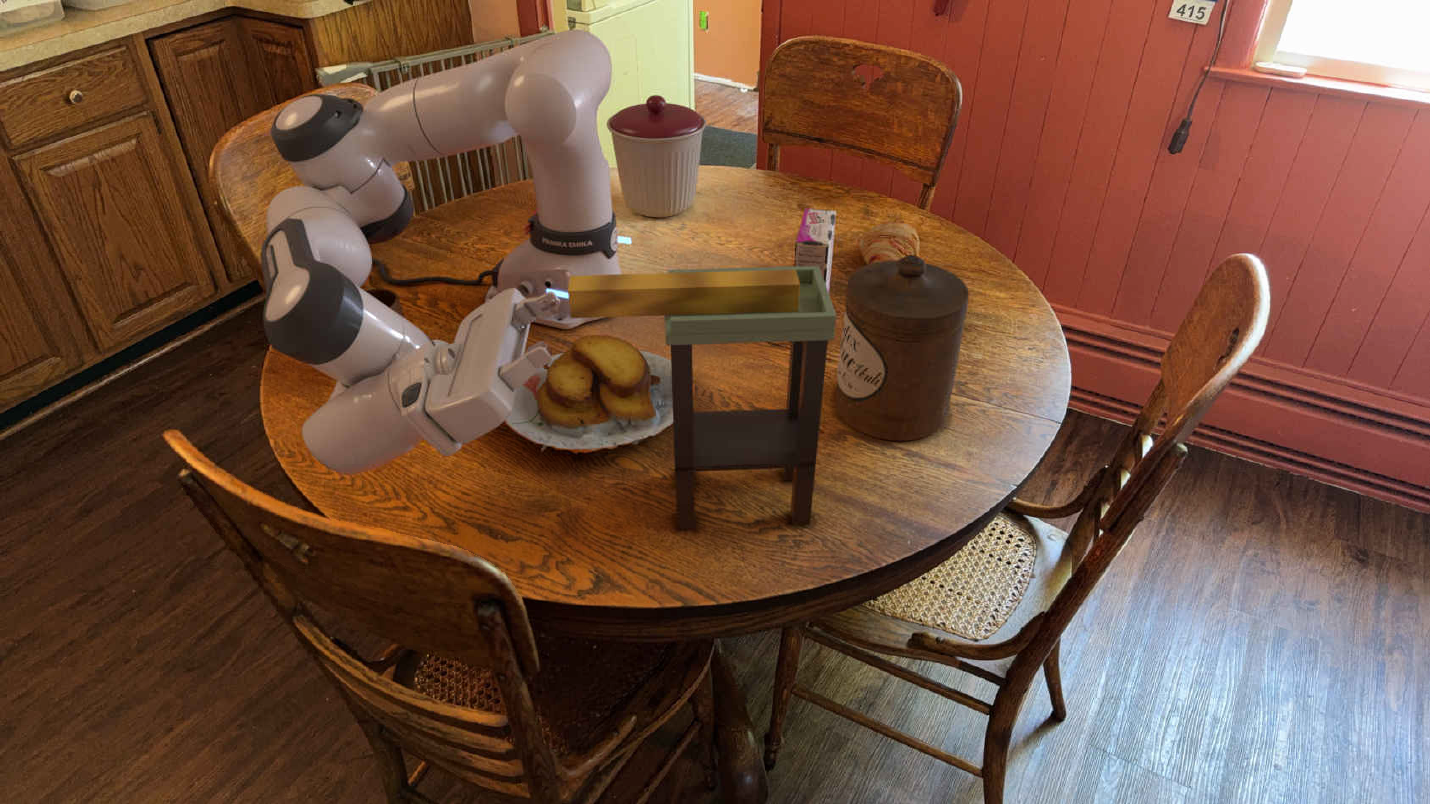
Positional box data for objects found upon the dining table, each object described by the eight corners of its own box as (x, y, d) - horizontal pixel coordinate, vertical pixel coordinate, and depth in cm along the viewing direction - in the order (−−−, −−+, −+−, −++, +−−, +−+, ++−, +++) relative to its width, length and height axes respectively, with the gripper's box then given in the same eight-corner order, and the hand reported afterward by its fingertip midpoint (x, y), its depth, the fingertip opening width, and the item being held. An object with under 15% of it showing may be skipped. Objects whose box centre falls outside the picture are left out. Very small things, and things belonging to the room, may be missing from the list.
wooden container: (826, 376, 120) (840, 232, 106) (930, 373, 120) (957, 229, 107) (845, 444, 108) (863, 291, 95) (960, 440, 108) (995, 287, 95)
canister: (721, 197, 169) (722, 88, 156) (681, 234, 156) (678, 118, 143) (640, 182, 175) (635, 76, 162) (595, 216, 162) (585, 103, 149)
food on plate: (465, 444, 107) (455, 402, 104) (555, 343, 126) (550, 304, 123) (653, 487, 101) (650, 444, 97) (719, 374, 120) (719, 334, 116)
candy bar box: (797, 303, 136) (804, 206, 126) (828, 306, 135) (838, 209, 125) (787, 340, 127) (794, 239, 117) (821, 344, 126) (830, 243, 116)
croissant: (893, 310, 141) (923, 276, 135) (842, 277, 140) (870, 241, 135) (909, 251, 157) (936, 219, 151) (863, 222, 156) (888, 187, 151)
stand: (672, 532, 95) (664, 321, 79) (670, 473, 103) (663, 269, 87) (814, 526, 96) (836, 315, 80) (802, 467, 104) (819, 265, 88)
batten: (570, 318, 82) (567, 290, 80) (573, 302, 84) (570, 275, 83) (798, 311, 83) (800, 284, 81) (794, 296, 86) (795, 269, 84)
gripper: (477, 350, 98) (578, 294, 94) (443, 469, 81) (563, 406, 78) (440, 310, 94) (543, 250, 91) (397, 425, 78) (520, 358, 74)
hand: (552, 323), depth 84 cm, fingers open, 8 cm apart
